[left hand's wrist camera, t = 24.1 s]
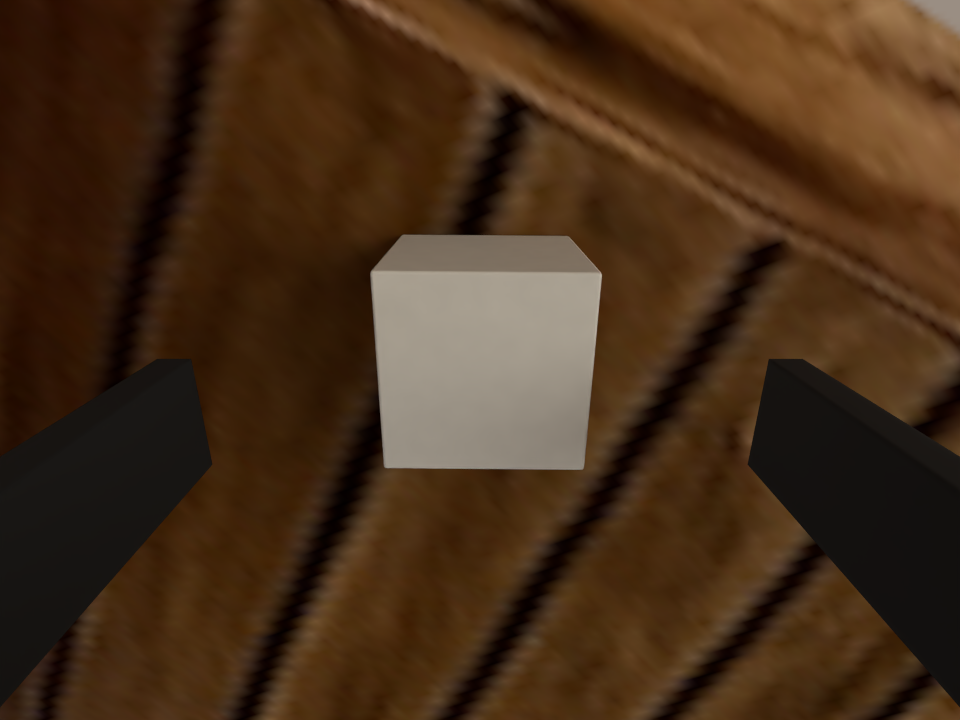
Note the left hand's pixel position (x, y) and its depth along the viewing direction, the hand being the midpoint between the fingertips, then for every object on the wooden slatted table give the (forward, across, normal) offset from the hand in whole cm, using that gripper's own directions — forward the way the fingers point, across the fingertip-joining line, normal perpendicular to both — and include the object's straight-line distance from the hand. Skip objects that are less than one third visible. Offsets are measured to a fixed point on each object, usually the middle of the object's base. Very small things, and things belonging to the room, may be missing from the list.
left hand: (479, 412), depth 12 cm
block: (+5, 0, -1) cm, 5 cm away
